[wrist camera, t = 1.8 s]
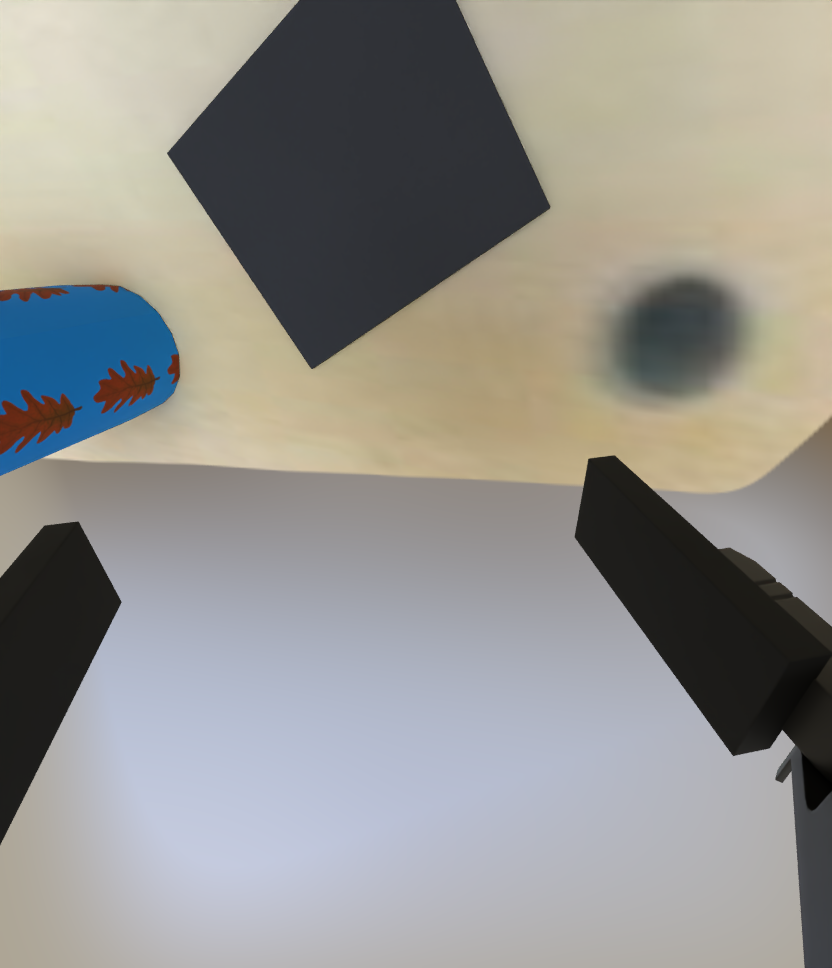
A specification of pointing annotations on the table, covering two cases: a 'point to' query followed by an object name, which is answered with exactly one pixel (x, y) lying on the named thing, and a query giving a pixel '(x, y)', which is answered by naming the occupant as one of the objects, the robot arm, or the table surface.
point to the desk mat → (358, 164)
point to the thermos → (77, 366)
